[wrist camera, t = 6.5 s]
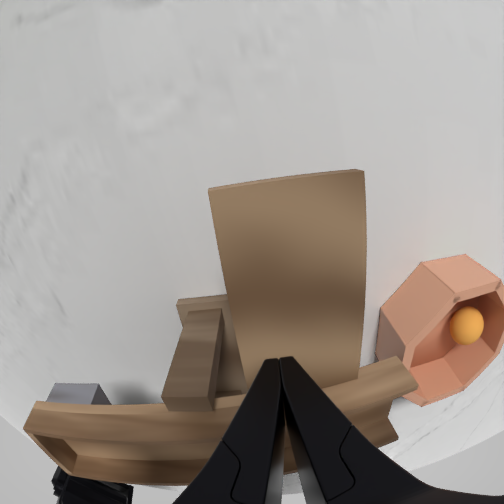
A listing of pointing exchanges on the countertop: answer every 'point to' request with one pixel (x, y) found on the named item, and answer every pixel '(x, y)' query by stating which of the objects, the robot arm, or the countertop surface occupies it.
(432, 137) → the countertop surface
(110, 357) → the countertop surface
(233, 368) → the stand
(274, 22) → the countertop surface
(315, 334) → the lever
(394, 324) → the pink octagonal bowl
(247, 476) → the robot arm
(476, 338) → the ball
